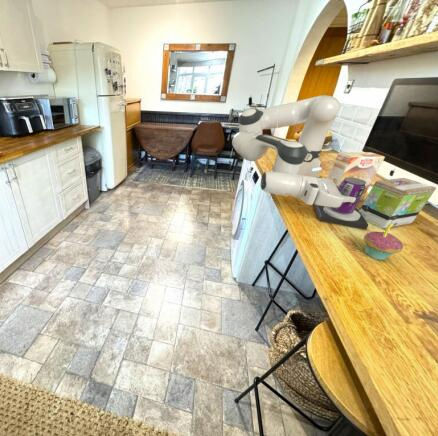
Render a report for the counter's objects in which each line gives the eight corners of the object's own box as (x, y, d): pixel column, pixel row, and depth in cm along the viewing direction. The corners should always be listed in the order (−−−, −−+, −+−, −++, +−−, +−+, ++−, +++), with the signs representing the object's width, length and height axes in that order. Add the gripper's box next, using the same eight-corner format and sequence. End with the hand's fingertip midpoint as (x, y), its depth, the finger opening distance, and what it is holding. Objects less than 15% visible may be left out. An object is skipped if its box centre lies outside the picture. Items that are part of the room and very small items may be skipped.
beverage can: (356, 216, 85) (372, 185, 79) (334, 214, 86) (348, 183, 80) (346, 207, 91) (360, 177, 85) (325, 205, 92) (338, 176, 86)
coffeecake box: (331, 201, 102) (351, 156, 92) (319, 195, 108) (337, 152, 99) (363, 200, 104) (386, 156, 94) (349, 194, 110) (370, 151, 100)
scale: (314, 205, 99) (316, 198, 98) (354, 212, 94) (358, 205, 93) (319, 220, 88) (322, 213, 87) (366, 229, 83) (370, 222, 82)
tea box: (384, 229, 84) (408, 191, 76) (355, 216, 92) (374, 180, 84) (412, 223, 87) (438, 186, 80) (382, 211, 96) (403, 176, 88)
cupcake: (383, 267, 66) (407, 231, 60) (350, 249, 73) (369, 215, 67) (400, 259, 69) (424, 224, 63) (367, 243, 76) (386, 210, 70)
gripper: (301, 186, 100) (341, 192, 95) (307, 206, 83) (355, 215, 79) (307, 171, 96) (348, 177, 92) (314, 189, 80) (364, 198, 76)
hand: (351, 195), depth 85 cm, fingers open, 7 cm apart
